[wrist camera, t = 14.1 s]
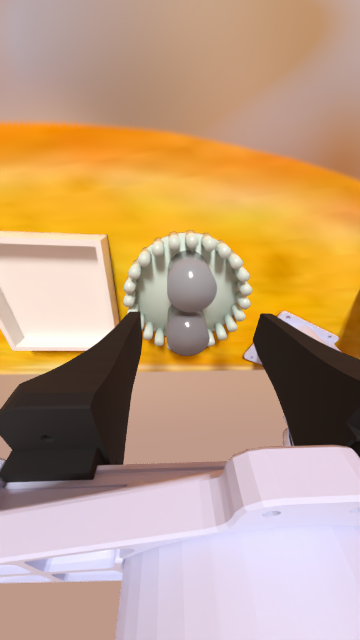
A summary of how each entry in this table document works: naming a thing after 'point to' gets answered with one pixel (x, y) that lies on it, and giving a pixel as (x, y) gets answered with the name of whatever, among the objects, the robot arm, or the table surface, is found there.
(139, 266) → the celadon bowl
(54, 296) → the parts tray
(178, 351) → the pebble charcoal
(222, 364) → the table surface
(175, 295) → the pebble slate
